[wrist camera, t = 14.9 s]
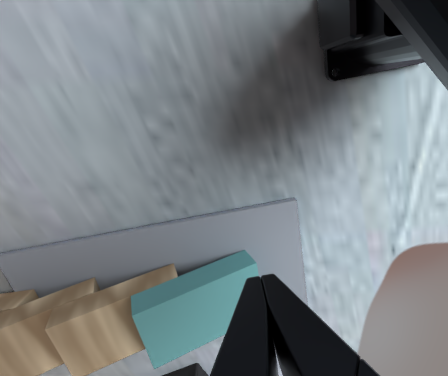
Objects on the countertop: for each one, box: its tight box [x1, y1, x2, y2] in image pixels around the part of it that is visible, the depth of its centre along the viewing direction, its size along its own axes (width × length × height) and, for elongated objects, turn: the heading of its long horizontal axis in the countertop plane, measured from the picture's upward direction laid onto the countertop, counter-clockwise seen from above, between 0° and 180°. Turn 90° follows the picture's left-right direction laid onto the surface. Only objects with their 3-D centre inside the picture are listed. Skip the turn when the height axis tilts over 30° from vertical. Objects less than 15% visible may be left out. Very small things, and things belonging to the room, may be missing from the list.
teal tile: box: [131, 250, 259, 369], centre depth 20 cm, size 2×5×9 cm
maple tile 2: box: [45, 263, 178, 376], centre depth 20 cm, size 2×5×9 cm
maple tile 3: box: [0, 277, 101, 376], centre depth 20 cm, size 2×5×9 cm
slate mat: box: [0, 198, 308, 306], centre depth 22 cm, size 24×12×1 cm, turn 101°
